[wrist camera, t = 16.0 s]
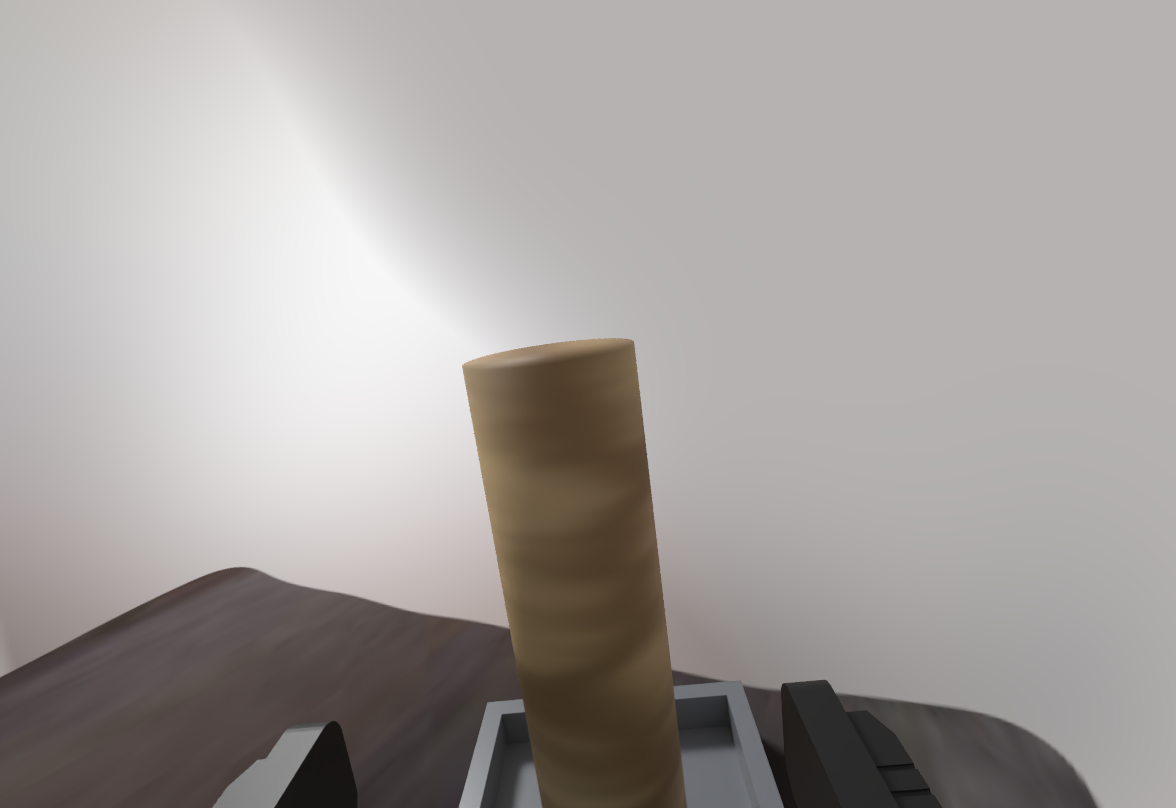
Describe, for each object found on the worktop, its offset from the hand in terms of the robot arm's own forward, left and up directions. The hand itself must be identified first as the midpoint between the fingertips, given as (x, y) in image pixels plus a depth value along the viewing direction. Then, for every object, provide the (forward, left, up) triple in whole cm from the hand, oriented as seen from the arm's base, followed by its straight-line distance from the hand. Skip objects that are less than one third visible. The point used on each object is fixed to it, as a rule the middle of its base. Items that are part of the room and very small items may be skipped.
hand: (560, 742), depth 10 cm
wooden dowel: (+3, +7, -12) cm, 14 cm away
